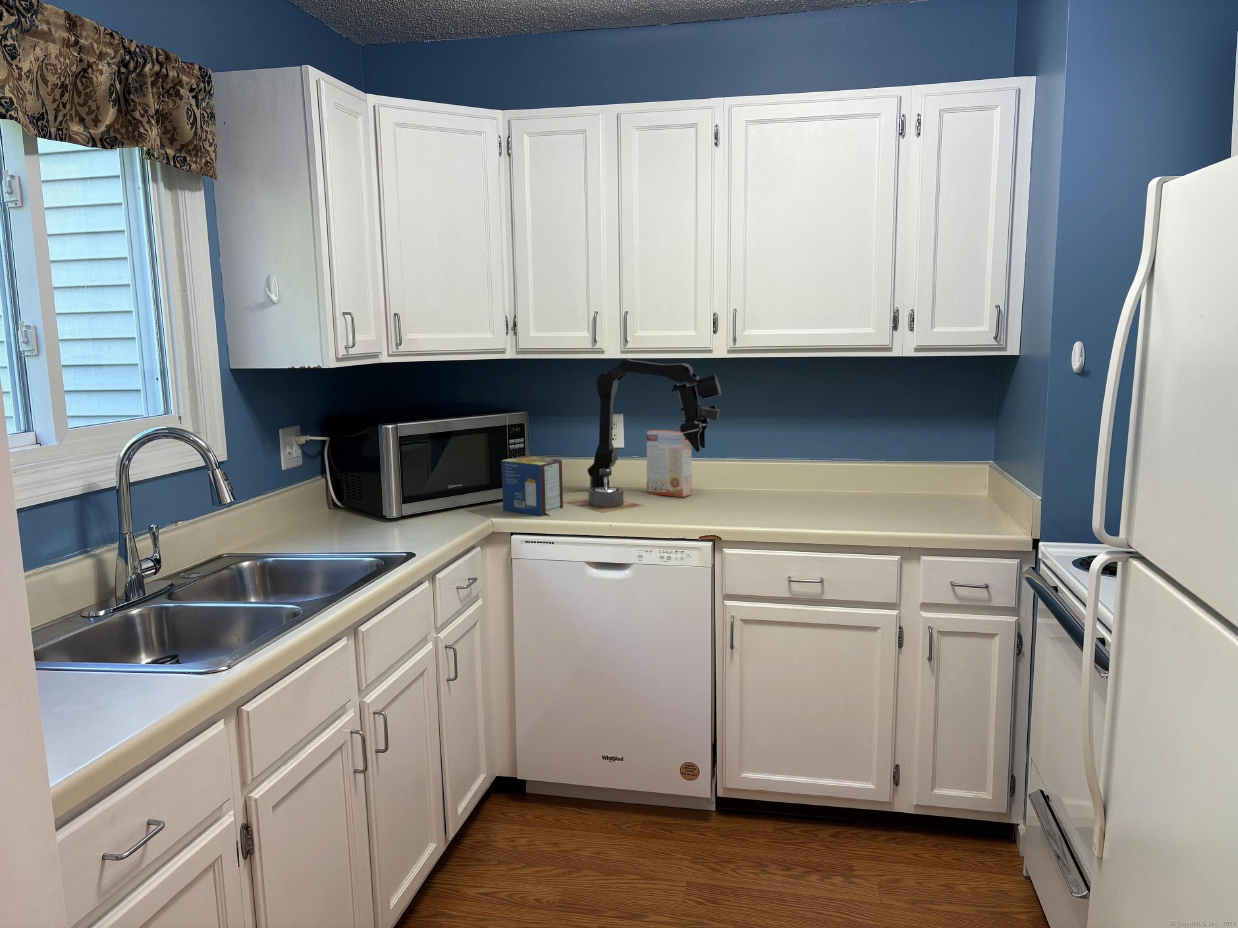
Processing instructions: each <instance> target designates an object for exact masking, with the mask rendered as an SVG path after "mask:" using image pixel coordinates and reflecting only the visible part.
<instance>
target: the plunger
mask: <svg viewBox="0 0 1238 928" xmlns="http://www.w3.org/2000/svg"><path fill="white" fill-rule="evenodd" d="M612 470H613V469H612V468H611V469H610V468H602V469H600V476H604V487H603V488H596V489H595V492H616V491H617V489H616V488H610V487H611V486H609V487H607V476H609V477H610V476H612V473H613V472H612Z"/></svg>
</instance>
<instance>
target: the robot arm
mask: <svg viewBox="0 0 1238 928" xmlns="http://www.w3.org/2000/svg"><path fill="white" fill-rule="evenodd" d="M629 373H637V374H644V375H651V376H658V377H659V376H661V377H664V378H667V379H668V380H671V381H675V382H677V383H674V385H673V387H672V389H671V392H672V393H674V392H678V396H679V401H680V405H681V407H680V412H682V414H683V418H684V420H683V422H682V423H681V424H680V426H679V431H681V433H682V434H683V435H684V436H685V437H686V439H687V440H688V441H689V442H690V444H691V445H692V447H693V450H694V451H695V452H696V453H700V452H701V449H705V448H706V431H707V429H708V427H709V425H710V420H712V421H718V420H719V419H720V418H719V417H720V413H721V412H720V408H718V407H717V405H716V404H711V405H710V406H709V407H705V406H704V407H703V404H702V403H701V402H700V401H699V397H700V398H702V399H703V400H706V399H710V398H715V397H717V396H721V395H722V390H721V384H720V383H719V379H718V378H717V375H716V374H711V375H709V376H705V377H700V376H699V375H697V373H695V372H694V369H693V367H692V366H691V365H690V364H688V363H684V362H683V363H666V364H665V363H656V362H655V363H654V362H649V361H648V362H647V361H642V360H633V359H630V358H627V359H625V358H624V359H622V360H621V361H620V362H619V363H618V364H616V366H614V367H612V368H611V369H610V370H608V371H607V372H604V373H603V372H602V373H601V374H599V375H598V376H597V377H596V380H595V385H596V392H597V395H598V398H599V428H598V430H599V431H598V432H599V433H598V444H597V448H596V450H595V454H594V459H593V463H592V464H591V465H590V466H589V467H588V468H587V471H586V472H587V474H588V476H589V482H590V485H589V486H590V487H589V488H591V487H594V488H597V487H604V476H600V469H602V468H610V469H612V468H613V467H614V466H615V465H616V463H617V461H619V460H618V451H619V448H618V447H614V444H613V427H614V426H613V422H614V400H615V396H616V394H617V391H618V386H619V382H620V381H621V380H623V378H624V377H625V376H626V375H628V374H629ZM679 383H682V384H679ZM694 383H696V384H694ZM690 384H692V385H690ZM683 432H684V433H683ZM609 477H610V476H607V487H610V478H609ZM588 490H589V489H587V490H586V492H587V491H588Z"/></svg>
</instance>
